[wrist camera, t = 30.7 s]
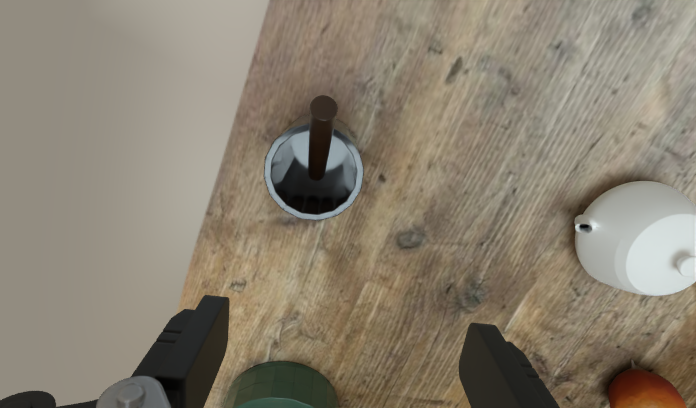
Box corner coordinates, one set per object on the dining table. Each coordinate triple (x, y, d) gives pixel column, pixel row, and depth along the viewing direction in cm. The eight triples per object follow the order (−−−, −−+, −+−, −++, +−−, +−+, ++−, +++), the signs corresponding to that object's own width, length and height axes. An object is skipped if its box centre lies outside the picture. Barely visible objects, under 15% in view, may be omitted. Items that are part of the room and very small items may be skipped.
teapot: (513, 248, 46) (560, 295, 36) (561, 149, 42) (629, 171, 32) (657, 291, 48) (737, 345, 38) (714, 200, 44) (819, 235, 35)
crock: (275, 186, 42) (261, 214, 34) (282, 108, 40) (267, 117, 31) (351, 195, 43) (355, 225, 34) (362, 119, 40) (370, 131, 32)
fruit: (686, 367, 50) (713, 436, 45) (630, 382, 56) (648, 444, 51) (638, 346, 49) (660, 415, 44) (586, 363, 55) (599, 426, 49)
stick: (304, 176, 40) (305, 112, 25) (312, 161, 41) (317, 90, 25) (320, 183, 40) (330, 125, 25) (327, 169, 41) (342, 102, 25)
